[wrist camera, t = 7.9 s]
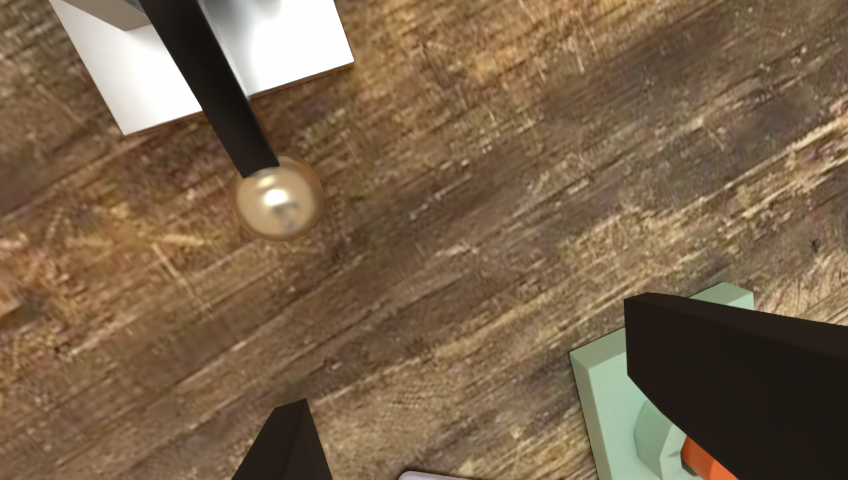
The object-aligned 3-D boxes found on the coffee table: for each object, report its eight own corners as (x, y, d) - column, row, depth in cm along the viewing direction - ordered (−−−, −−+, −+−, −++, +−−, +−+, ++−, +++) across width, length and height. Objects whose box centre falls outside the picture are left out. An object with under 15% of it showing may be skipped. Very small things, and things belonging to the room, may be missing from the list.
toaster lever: (328, 194, 15) (343, 239, 13) (254, 221, 15) (257, 272, 13) (94, -348, 7) (37, -454, 5) (-82, -319, 7) (-222, -421, 5)
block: (736, 438, 27) (795, 482, 23) (605, 507, 25) (647, 564, 22) (723, 280, 23) (791, 305, 20) (568, 352, 21) (612, 392, 18)
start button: (738, 447, 22) (772, 473, 20) (683, 477, 22) (713, 506, 20) (734, 396, 21) (770, 419, 19) (675, 426, 20) (707, 452, 19)
